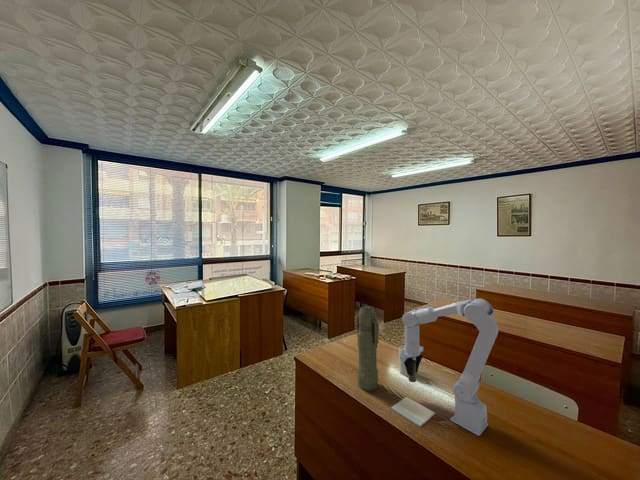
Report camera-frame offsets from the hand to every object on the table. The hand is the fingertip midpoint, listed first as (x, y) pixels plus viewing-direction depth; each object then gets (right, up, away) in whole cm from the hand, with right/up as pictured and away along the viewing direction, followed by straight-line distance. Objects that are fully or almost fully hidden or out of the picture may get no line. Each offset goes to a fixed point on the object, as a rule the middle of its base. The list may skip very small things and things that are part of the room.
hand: (412, 373), depth 104 cm
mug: (+5, -10, +19) cm, 22 cm away
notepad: (-3, -10, -9) cm, 13 cm away
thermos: (-17, -10, +8) cm, 21 cm away
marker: (0, -3, 0) cm, 3 cm away
